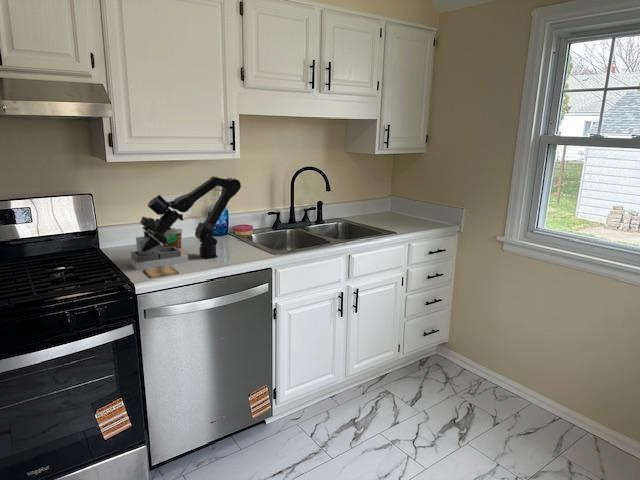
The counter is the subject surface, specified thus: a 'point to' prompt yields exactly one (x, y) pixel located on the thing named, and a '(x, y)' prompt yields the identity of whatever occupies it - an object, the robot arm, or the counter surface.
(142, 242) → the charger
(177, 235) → the food container
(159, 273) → the walnut board
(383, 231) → the counter surface
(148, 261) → the power strip
